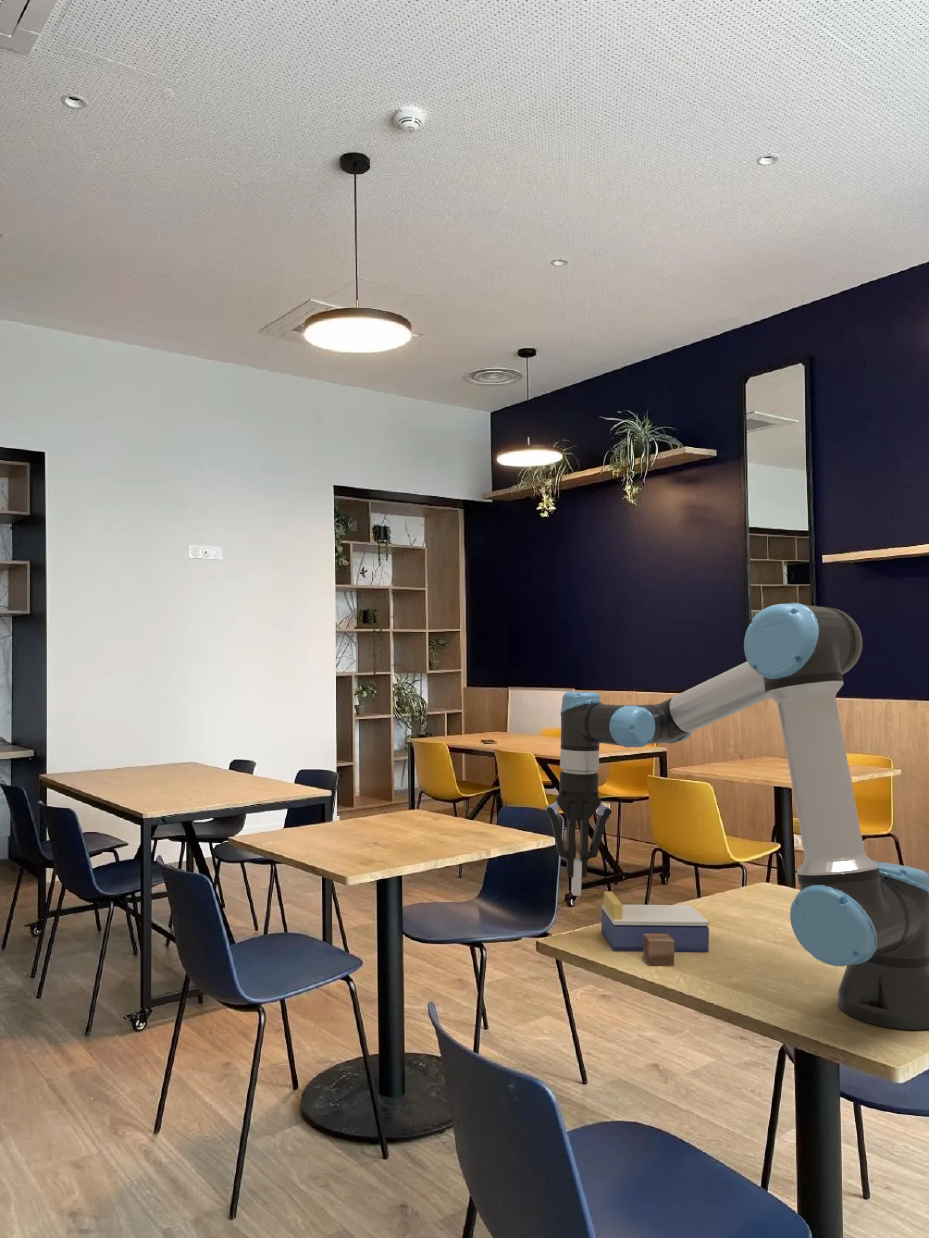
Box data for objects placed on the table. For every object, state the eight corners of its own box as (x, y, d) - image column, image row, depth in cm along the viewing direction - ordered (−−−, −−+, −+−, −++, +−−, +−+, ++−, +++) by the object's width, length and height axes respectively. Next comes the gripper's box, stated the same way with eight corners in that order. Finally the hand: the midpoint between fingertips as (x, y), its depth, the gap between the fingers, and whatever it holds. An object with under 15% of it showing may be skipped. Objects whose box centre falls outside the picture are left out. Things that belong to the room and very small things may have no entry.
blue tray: (708, 952, 176) (708, 927, 176) (613, 951, 175) (613, 926, 175) (690, 933, 188) (690, 910, 188) (601, 932, 187) (601, 909, 187)
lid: (708, 925, 176) (709, 906, 176) (613, 924, 175) (614, 905, 175) (690, 908, 188) (691, 891, 188) (601, 907, 187) (602, 890, 187)
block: (674, 966, 167) (674, 941, 167) (649, 966, 167) (649, 940, 167) (667, 958, 171) (667, 933, 172) (643, 958, 171) (643, 933, 171)
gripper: (608, 769, 186) (605, 889, 185) (543, 767, 186) (540, 888, 185) (616, 774, 179) (613, 899, 178) (548, 772, 178) (545, 898, 177)
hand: (576, 893), depth 181 cm, fingers closed
